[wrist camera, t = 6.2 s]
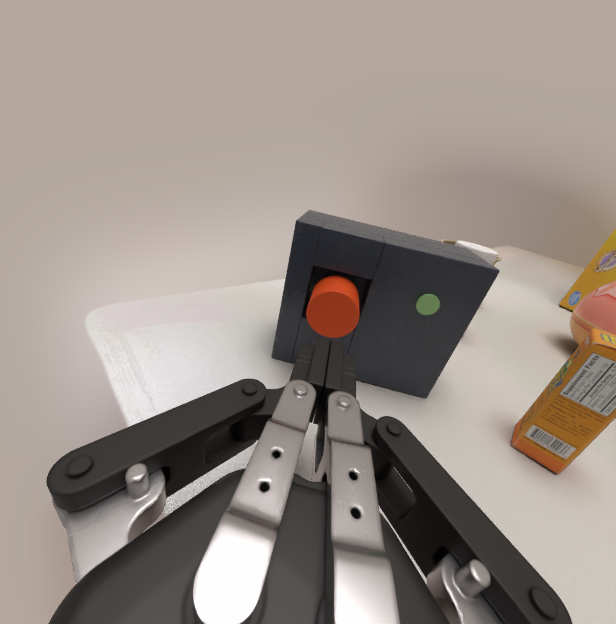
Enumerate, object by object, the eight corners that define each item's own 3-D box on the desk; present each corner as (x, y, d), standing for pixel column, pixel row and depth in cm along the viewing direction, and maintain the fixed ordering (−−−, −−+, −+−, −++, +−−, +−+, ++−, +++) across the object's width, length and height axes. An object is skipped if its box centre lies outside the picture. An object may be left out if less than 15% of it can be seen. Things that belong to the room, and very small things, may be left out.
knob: (301, 330, 19) (312, 284, 18) (308, 311, 22) (317, 269, 20) (350, 343, 19) (366, 298, 18) (351, 322, 22) (364, 281, 20)
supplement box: (511, 421, 23) (592, 323, 19) (559, 450, 22) (663, 350, 17) (505, 443, 21) (596, 338, 16) (558, 478, 19) (678, 371, 15)
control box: (270, 359, 24) (295, 221, 18) (286, 324, 30) (309, 209, 24) (427, 401, 23) (502, 272, 18) (413, 357, 29) (467, 248, 23)
